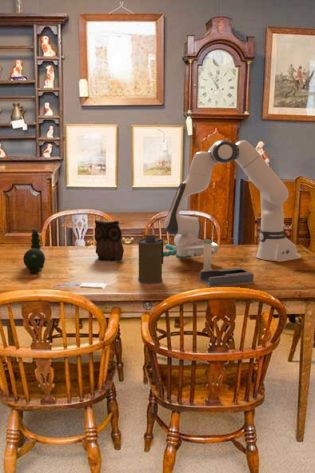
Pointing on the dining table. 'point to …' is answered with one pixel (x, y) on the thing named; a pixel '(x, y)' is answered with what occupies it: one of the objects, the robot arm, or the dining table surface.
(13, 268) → the dining table surface
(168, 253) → the alien figure
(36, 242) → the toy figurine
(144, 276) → the canister
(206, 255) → the flanged post
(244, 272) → the keyhole track
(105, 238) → the owl
